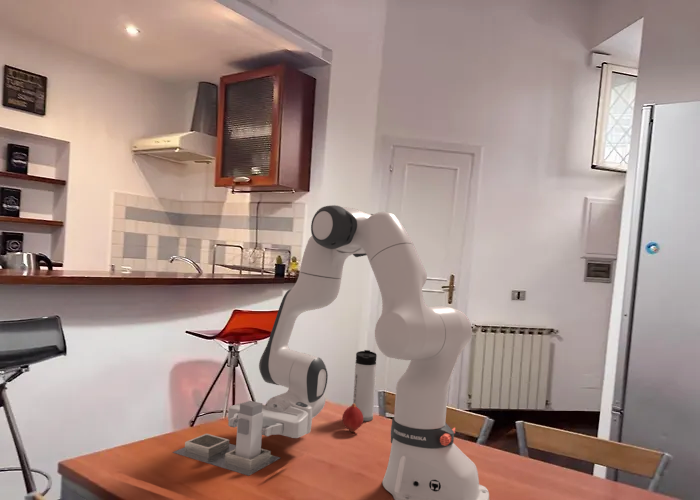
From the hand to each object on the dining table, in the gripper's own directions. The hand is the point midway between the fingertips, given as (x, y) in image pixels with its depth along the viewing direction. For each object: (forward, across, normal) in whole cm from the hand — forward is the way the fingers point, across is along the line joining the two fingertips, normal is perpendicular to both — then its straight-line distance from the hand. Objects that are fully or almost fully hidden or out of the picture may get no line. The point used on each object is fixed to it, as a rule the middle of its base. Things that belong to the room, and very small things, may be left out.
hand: (247, 427), depth 120 cm
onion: (-36, +9, +9) cm, 38 cm away
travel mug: (-49, +6, +9) cm, 50 cm away
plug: (-1, 0, +8) cm, 8 cm away
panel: (-1, -6, +9) cm, 11 cm away
